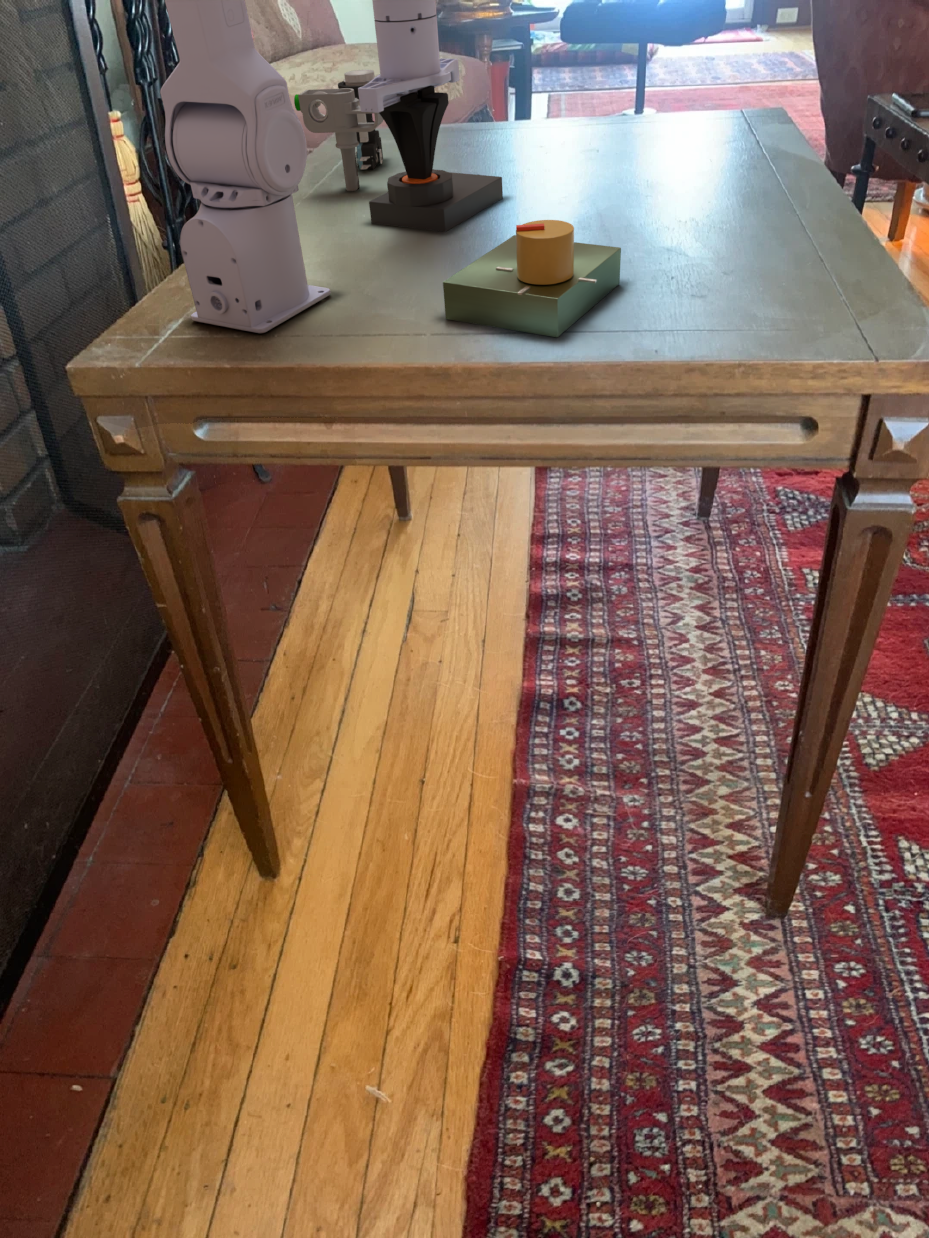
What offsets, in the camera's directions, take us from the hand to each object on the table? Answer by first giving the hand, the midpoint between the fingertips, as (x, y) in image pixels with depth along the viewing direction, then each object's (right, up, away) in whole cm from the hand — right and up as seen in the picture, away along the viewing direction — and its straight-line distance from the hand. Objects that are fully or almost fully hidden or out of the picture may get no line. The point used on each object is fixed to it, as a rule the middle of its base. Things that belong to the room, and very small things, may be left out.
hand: (419, 177), depth 93 cm
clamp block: (+10, -18, -17) cm, 27 cm away
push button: (-7, +11, +21) cm, 24 cm away
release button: (0, -1, +1) cm, 2 cm away
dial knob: (+11, -18, -21) cm, 29 cm away
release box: (+2, -1, +4) cm, 5 cm away
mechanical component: (-8, +5, +13) cm, 16 cm away
